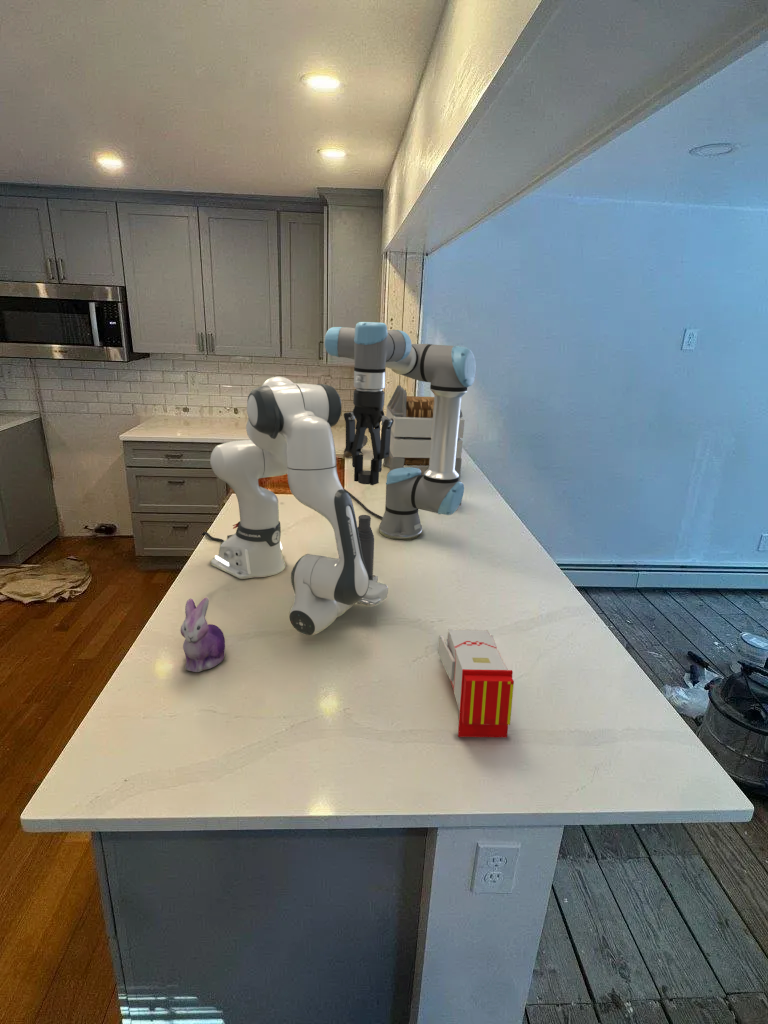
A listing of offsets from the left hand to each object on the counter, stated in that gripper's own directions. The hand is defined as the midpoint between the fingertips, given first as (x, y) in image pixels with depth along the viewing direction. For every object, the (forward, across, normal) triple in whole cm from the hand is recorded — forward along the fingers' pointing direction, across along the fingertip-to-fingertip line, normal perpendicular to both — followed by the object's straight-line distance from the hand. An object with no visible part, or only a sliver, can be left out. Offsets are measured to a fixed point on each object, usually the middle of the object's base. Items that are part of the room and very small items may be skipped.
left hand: (364, 574), depth 154 cm
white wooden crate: (+122, +37, +6) cm, 128 cm away
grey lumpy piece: (+137, +81, +6) cm, 159 cm away
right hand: (-1, 0, -27) cm, 27 cm away
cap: (-1, 0, -29) cm, 29 cm away
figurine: (-45, +15, +6) cm, 48 cm away
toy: (-25, -40, +6) cm, 47 cm away
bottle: (-1, 0, +6) cm, 6 cm away
